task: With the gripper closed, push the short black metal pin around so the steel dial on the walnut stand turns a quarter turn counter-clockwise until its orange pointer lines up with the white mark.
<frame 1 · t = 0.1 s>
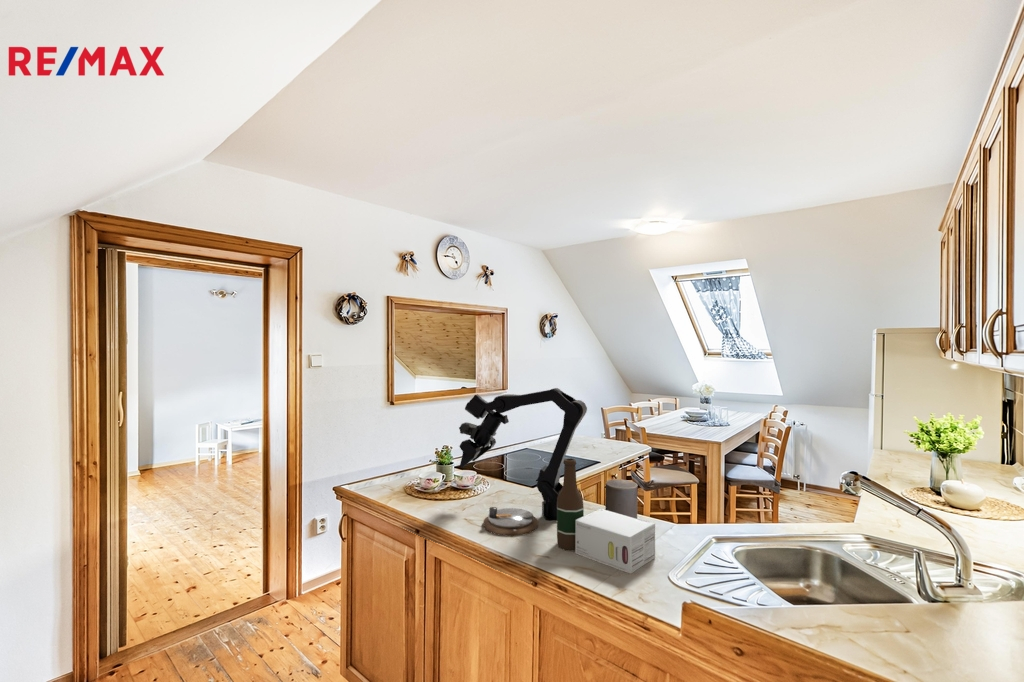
hand: (466, 463, 169), 15 cm above the countertop, tool tilted 30°, fingers open, 9 cm apart
dial: (510, 513, 151), point 3 cm above the countertop, hinge at 0.0°
pillar candle: (621, 529, 148), on the countertop
supplement box: (614, 556, 129), on the countertop
beer bottle: (570, 546, 135), on the countertop
stand: (510, 525, 151), on the countertop
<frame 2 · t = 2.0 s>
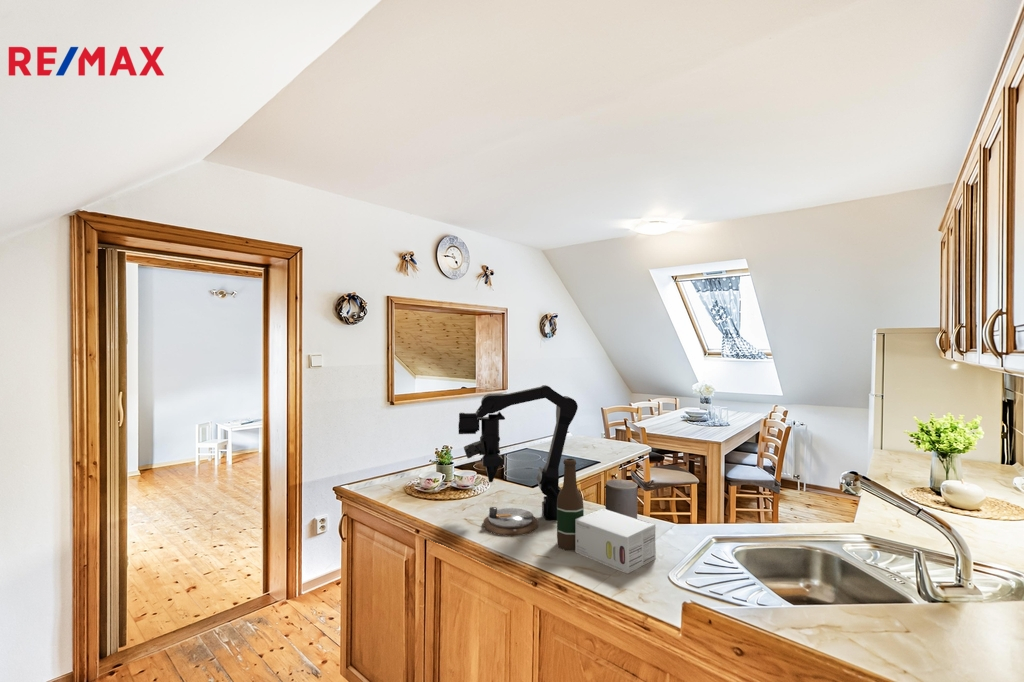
hand: (490, 482, 156), 12 cm above the countertop, tool pointing down, fingers closed
nothing on the countertop moved.
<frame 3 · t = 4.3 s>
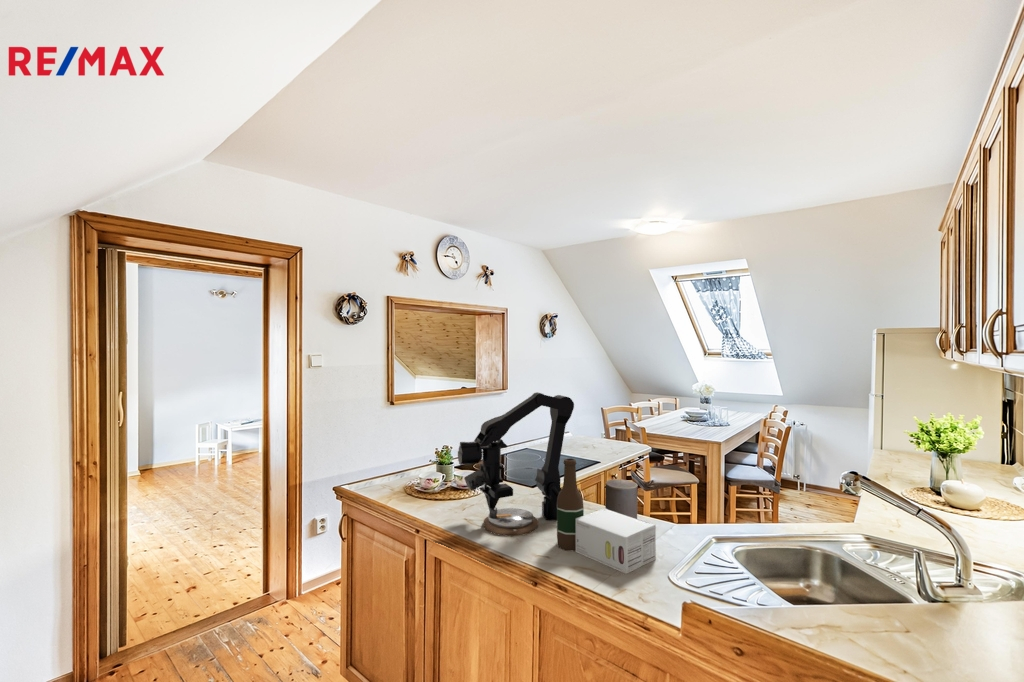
hand: (491, 511, 152), 4 cm above the countertop, tool pointing down, fingers closed
dial: (510, 513, 151), point 3 cm above the countertop, hinge at 2.7°, touching gripper
everything else where it was.
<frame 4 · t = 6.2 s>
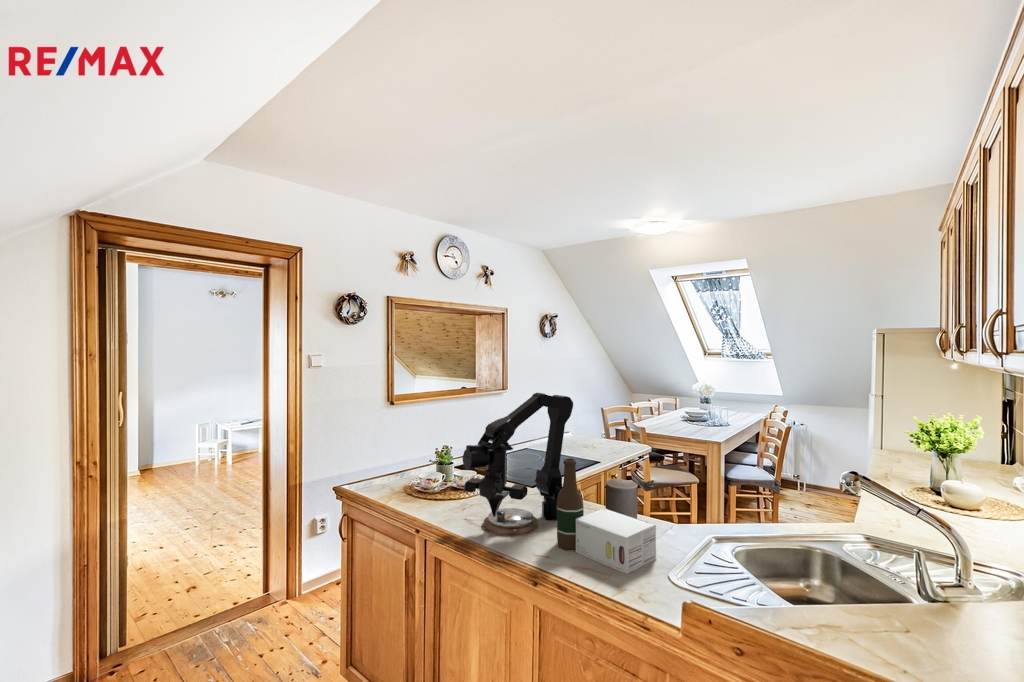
hand: (494, 516, 147), 4 cm above the countertop, tool pointing down, fingers closed
dial: (510, 513, 151), point 3 cm above the countertop, hinge at 48.2°, touching gripper
everything else where it was.
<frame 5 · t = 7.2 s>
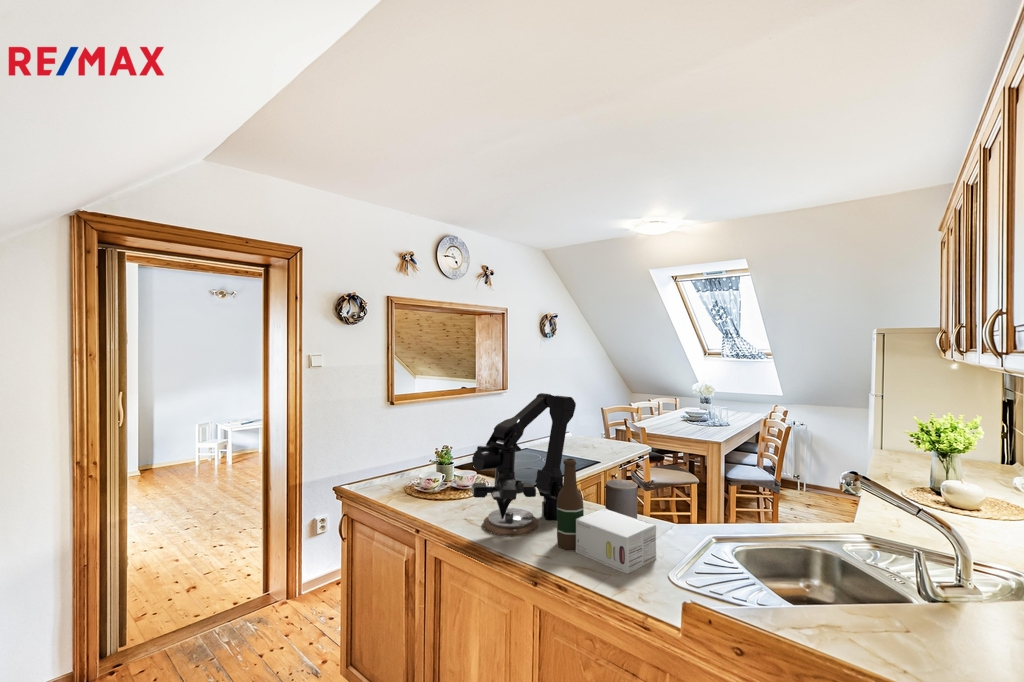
hand: (502, 518, 145), 4 cm above the countertop, tool pointing down, fingers closed
dial: (510, 513, 151), point 3 cm above the countertop, hinge at 76.1°, touching gripper
everything else where it was.
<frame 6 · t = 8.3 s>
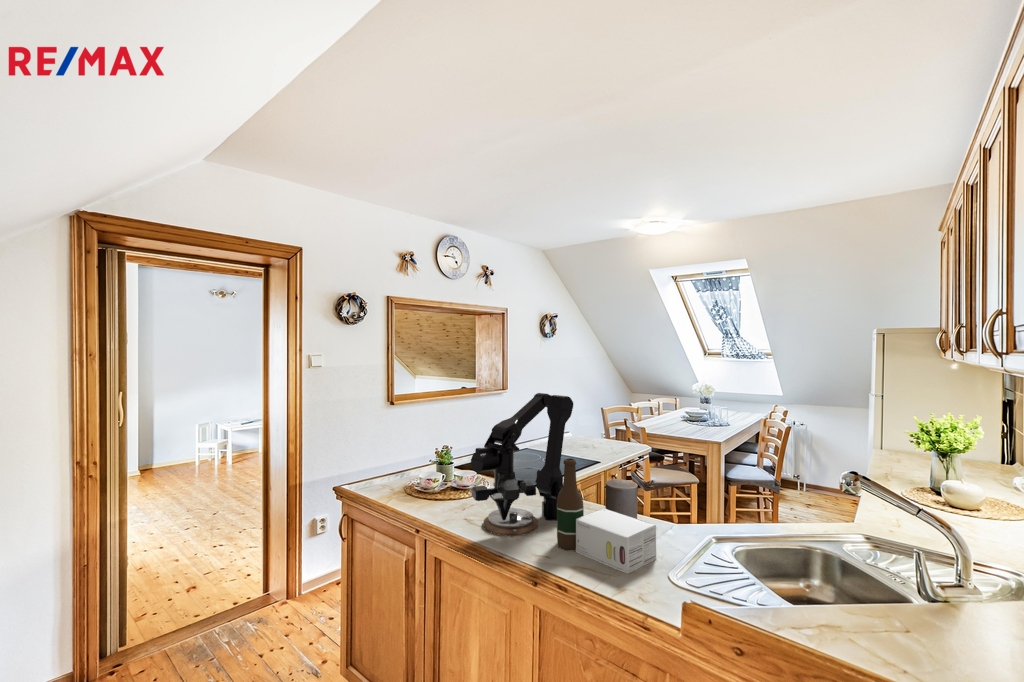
hand: (503, 519, 144), 4 cm above the countertop, tool pointing down, fingers closed
dial: (510, 513, 151), point 3 cm above the countertop, hinge at 89.3°
everything else where it was.
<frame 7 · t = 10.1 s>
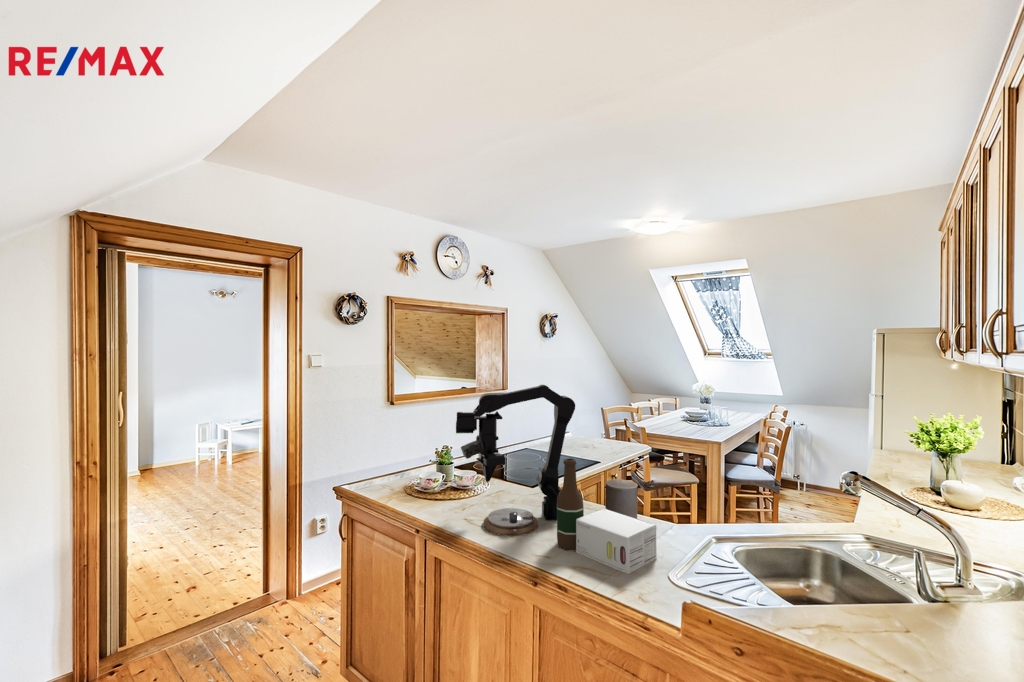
hand: (487, 481, 156), 12 cm above the countertop, tool pointing down, fingers closed
nothing on the countertop moved.
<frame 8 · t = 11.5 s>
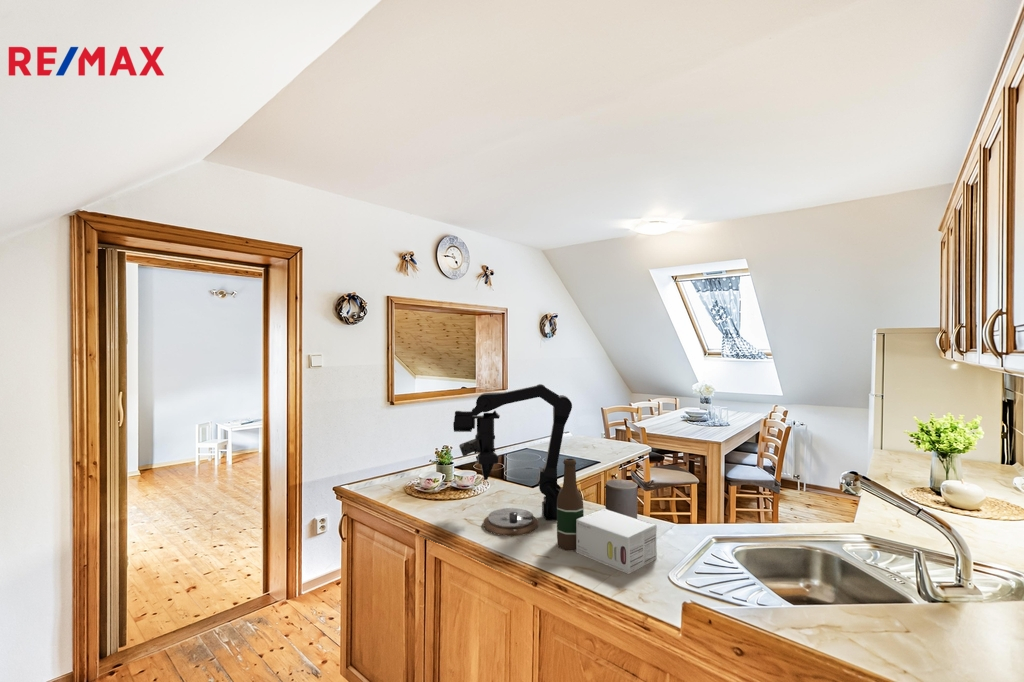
hand: (485, 479, 159), 12 cm above the countertop, tool pointing down, fingers closed
nothing on the countertop moved.
at the end: dial at +89° (first picture: +0°) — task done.
